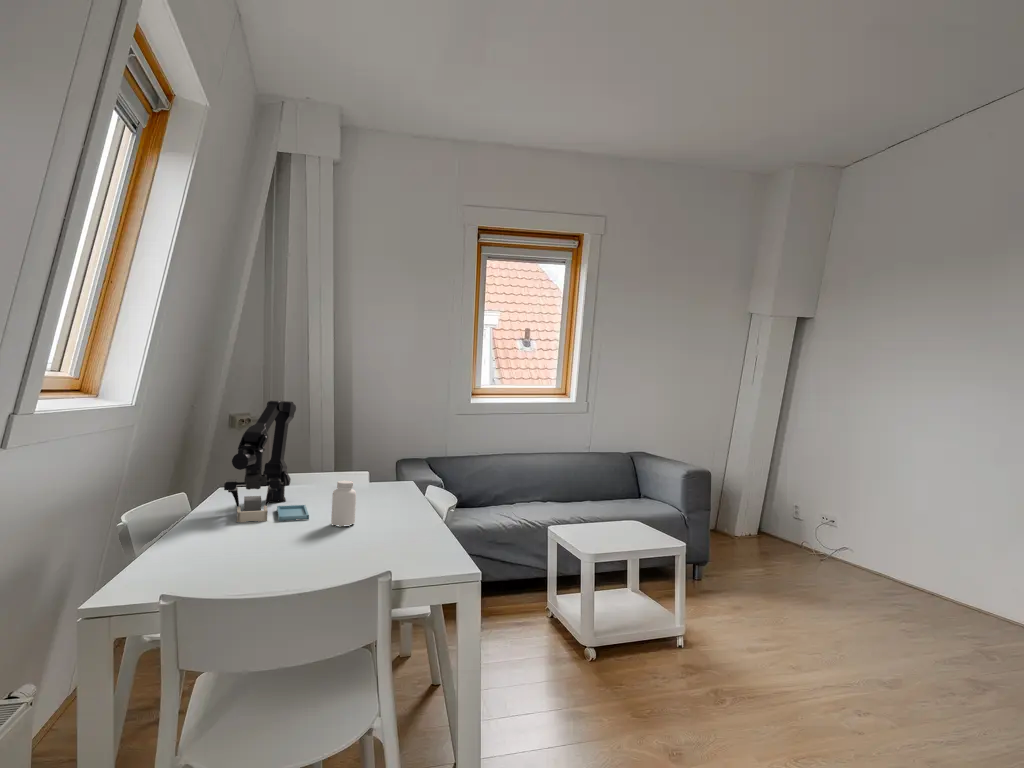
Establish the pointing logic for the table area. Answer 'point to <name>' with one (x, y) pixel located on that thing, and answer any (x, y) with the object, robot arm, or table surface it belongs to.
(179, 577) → the table surface
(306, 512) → the tray
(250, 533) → the table surface
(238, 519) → the bay
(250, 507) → the grey rectangular block
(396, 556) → the table surface
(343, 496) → the pill bottle
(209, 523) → the table surface
